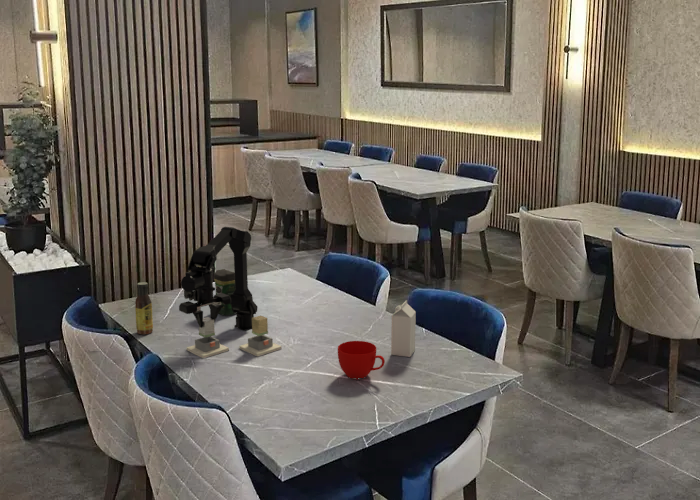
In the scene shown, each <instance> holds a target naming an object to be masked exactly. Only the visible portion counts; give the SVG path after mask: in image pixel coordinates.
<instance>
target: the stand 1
mask: <svg viewBox="0 0 700 500" xmlns="http://www.w3.org/2000/svg"><path fill="white" fill-rule="evenodd" d="M220 341H221V340H220V339H218V338H216V337H214V336H210V337H206V338H205V337H203V336H202V337H200V338H198V339H196V338H195V339H194V345H190V346H187V347H186V349H185V350H186V351H187V352H190V353H191V354H193V355H195V356H197V357H198V358H199V357H200V358H201V359H206V358H209V357H212V356H216V355H218V354H222V353H225V352H229V351H230V349H229V347H228V346H225V345H224V344H221V343H220Z"/></svg>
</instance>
